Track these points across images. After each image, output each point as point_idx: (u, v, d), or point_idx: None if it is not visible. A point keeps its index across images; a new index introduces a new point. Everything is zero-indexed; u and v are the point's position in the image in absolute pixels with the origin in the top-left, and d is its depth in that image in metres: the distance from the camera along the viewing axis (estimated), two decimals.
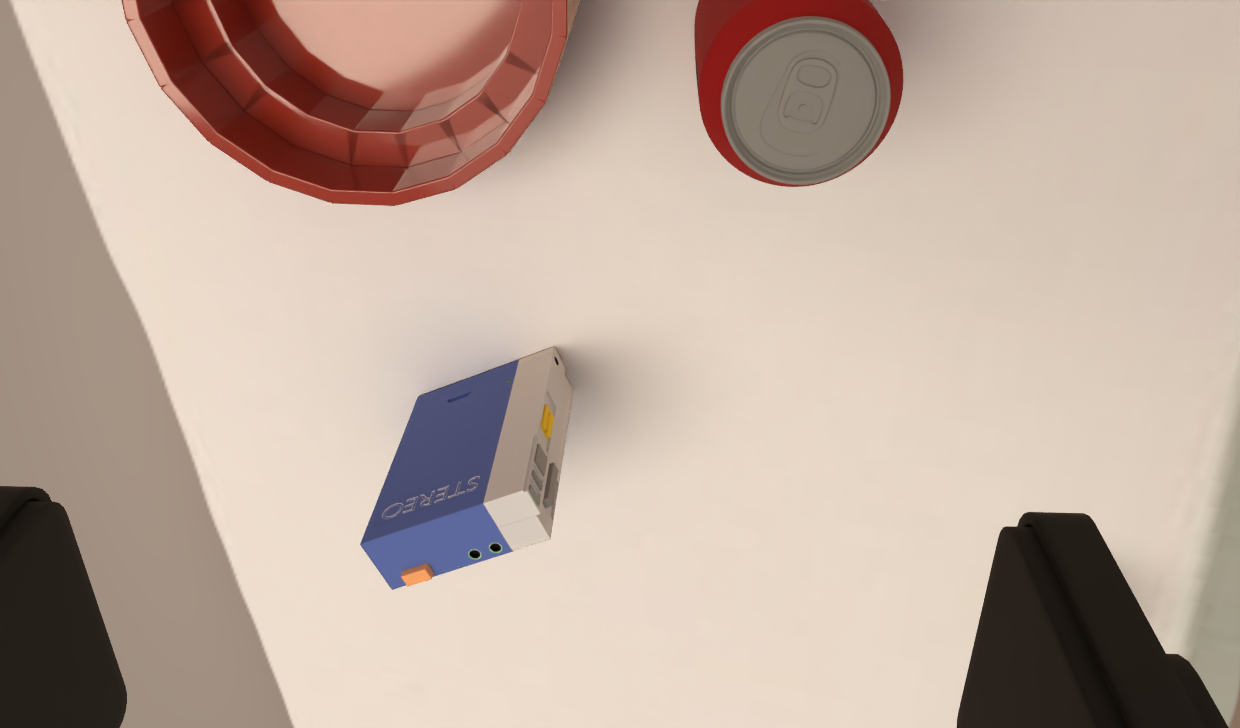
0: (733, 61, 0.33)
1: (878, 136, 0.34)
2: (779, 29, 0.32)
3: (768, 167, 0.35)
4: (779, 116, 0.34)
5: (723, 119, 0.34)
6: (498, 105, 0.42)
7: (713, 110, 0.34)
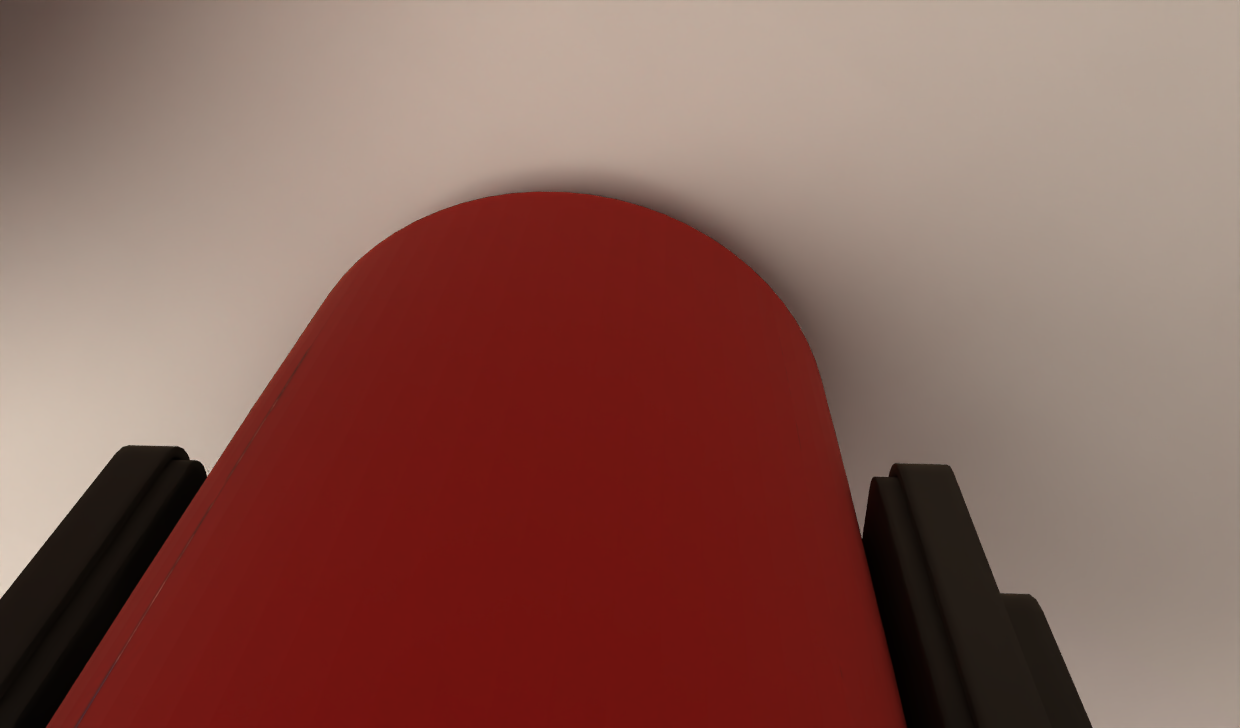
0: None
1: None
2: None
3: None
4: None
5: None
6: None
7: None
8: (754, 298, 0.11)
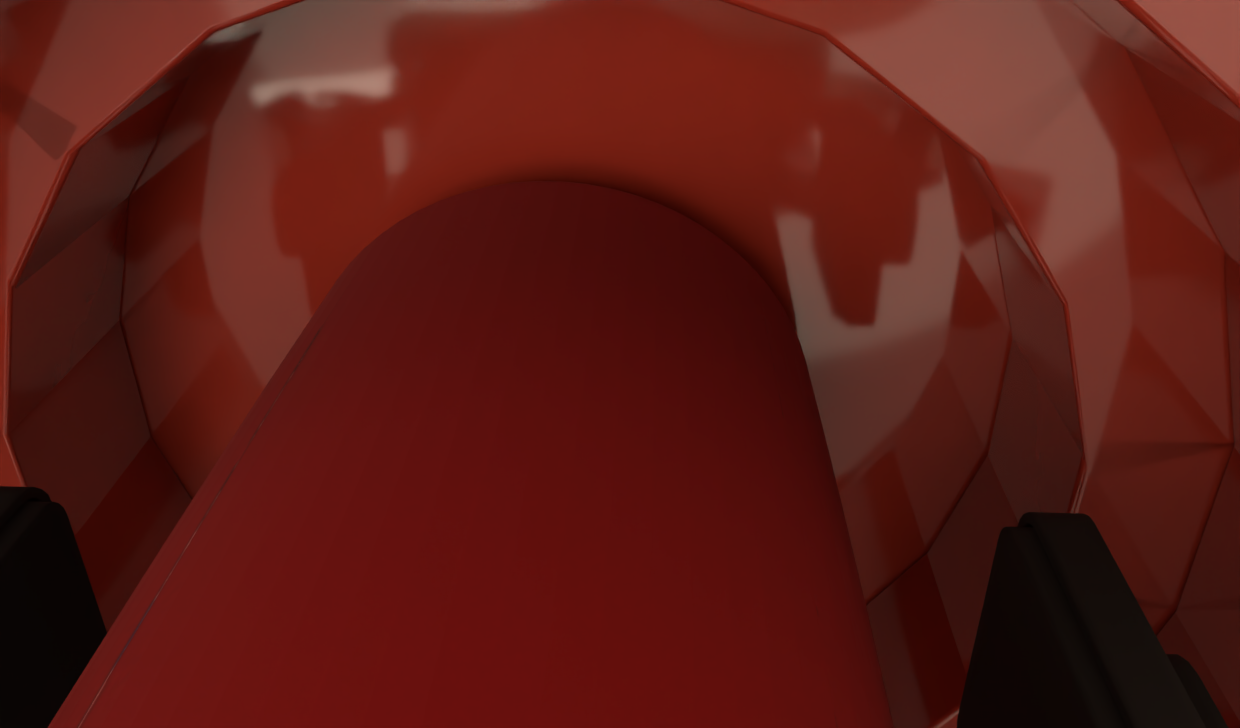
0: None
1: None
2: None
3: None
4: None
5: None
6: None
7: None
8: (741, 281, 0.12)
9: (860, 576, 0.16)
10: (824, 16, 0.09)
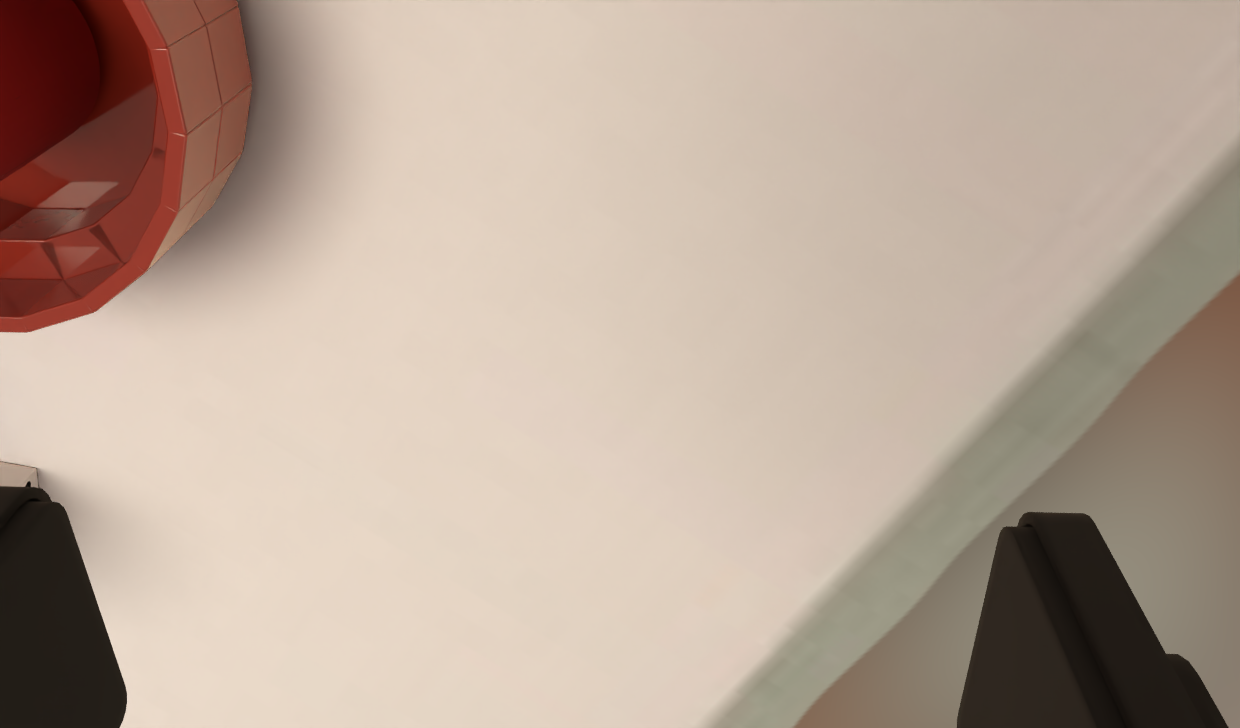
0: None
1: None
2: None
3: None
4: None
5: None
6: (61, 262, 0.37)
7: None
8: None
9: None
10: None
